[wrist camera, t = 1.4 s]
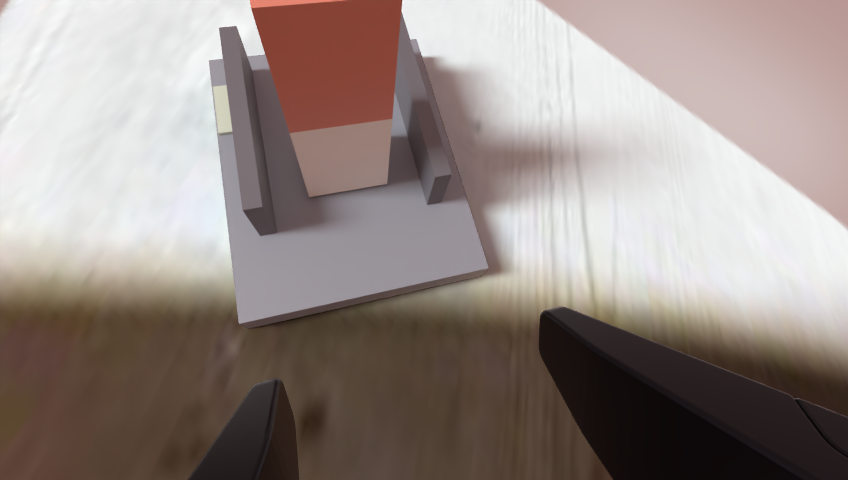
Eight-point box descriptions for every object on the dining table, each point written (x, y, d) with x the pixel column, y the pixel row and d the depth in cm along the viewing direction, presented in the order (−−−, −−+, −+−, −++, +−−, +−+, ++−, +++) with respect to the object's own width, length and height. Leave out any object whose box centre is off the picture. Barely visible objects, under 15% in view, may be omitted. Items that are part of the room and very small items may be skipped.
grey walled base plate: (481, 275, 22) (506, 248, 18) (248, 328, 20) (215, 311, 16) (413, 57, 27) (421, -5, 23) (218, 79, 25) (186, 14, 20)
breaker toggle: (386, 183, 22) (402, -4, 12) (309, 197, 21) (251, 8, 11) (374, 135, 23) (379, -79, 12) (299, 146, 22) (238, -73, 12)
